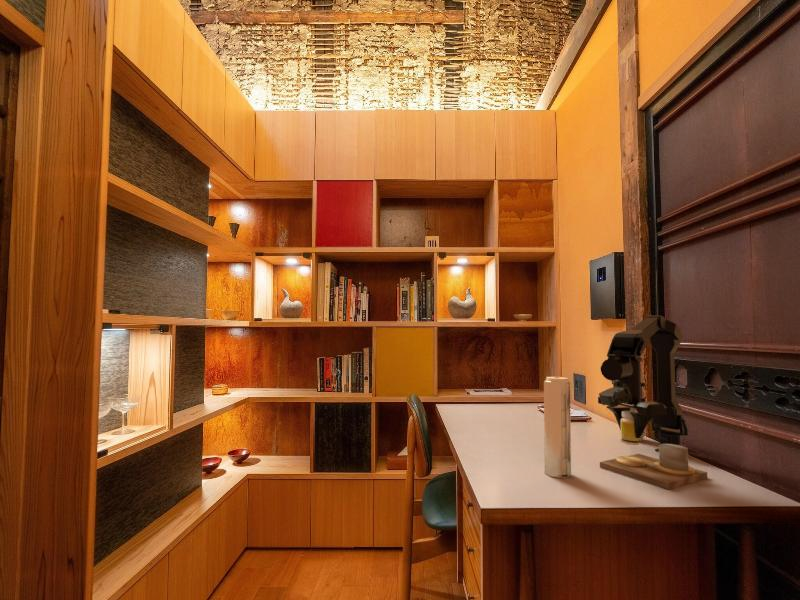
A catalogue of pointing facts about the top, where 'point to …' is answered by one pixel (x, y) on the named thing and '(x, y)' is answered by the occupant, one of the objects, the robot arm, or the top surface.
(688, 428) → the robot arm
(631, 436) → the supplement bottle
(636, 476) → the board
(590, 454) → the top surface
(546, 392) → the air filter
